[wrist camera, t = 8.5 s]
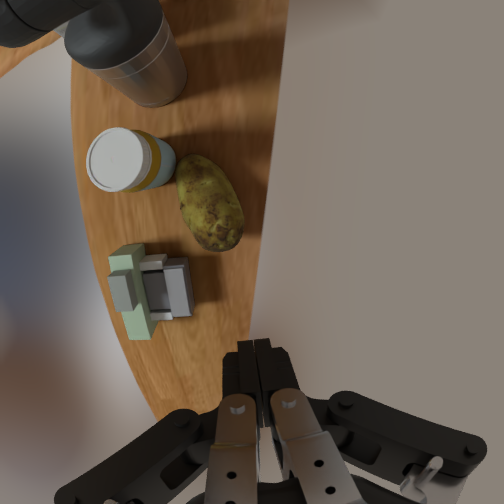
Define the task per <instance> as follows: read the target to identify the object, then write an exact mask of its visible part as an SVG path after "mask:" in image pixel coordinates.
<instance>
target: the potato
mask: <svg viewBox="0 0 504 504" xmlns="http://www.w3.org/2000/svg"><path fill="white" fill-rule="evenodd" d="M175 177H176V185H177V191H178V197H179V202H180V207H181V208H180V209H181V212H182V215H183V218H184V220H185V222H186V224H187V226H188V227H189V229H190V230H191V231H192V233H193V235H194V237H195V239H196V241H197V242H198V244H200V245H201V246H202V248H204V249H206V250H208V251H213V252H223V251H227V250H230V249H232V248H234V247H235V246H236V245H237V244H238V243H239V241H240V239H241V237H242V234H243V232H244V231H243V229H244V215H243V212H242V209H241V206H240V203H239V200H238V198H237V196H236V194H235V192H234V190H233V188H232V185H231V183H230V181H229V180H228V178H227V177H226V175H225V174H224V172H223V171H222V170H221V169H220V168H219V167H218V166H217V165H216V164H215V163H214V162H212V161H210V160H208V159H206V158H205V157H203V156H200V155H198V154H189V155H187V156H185V157H184V158H182V159H181V160H180V161H179V162H178V164H177V167H176V169H175Z"/></svg>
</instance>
